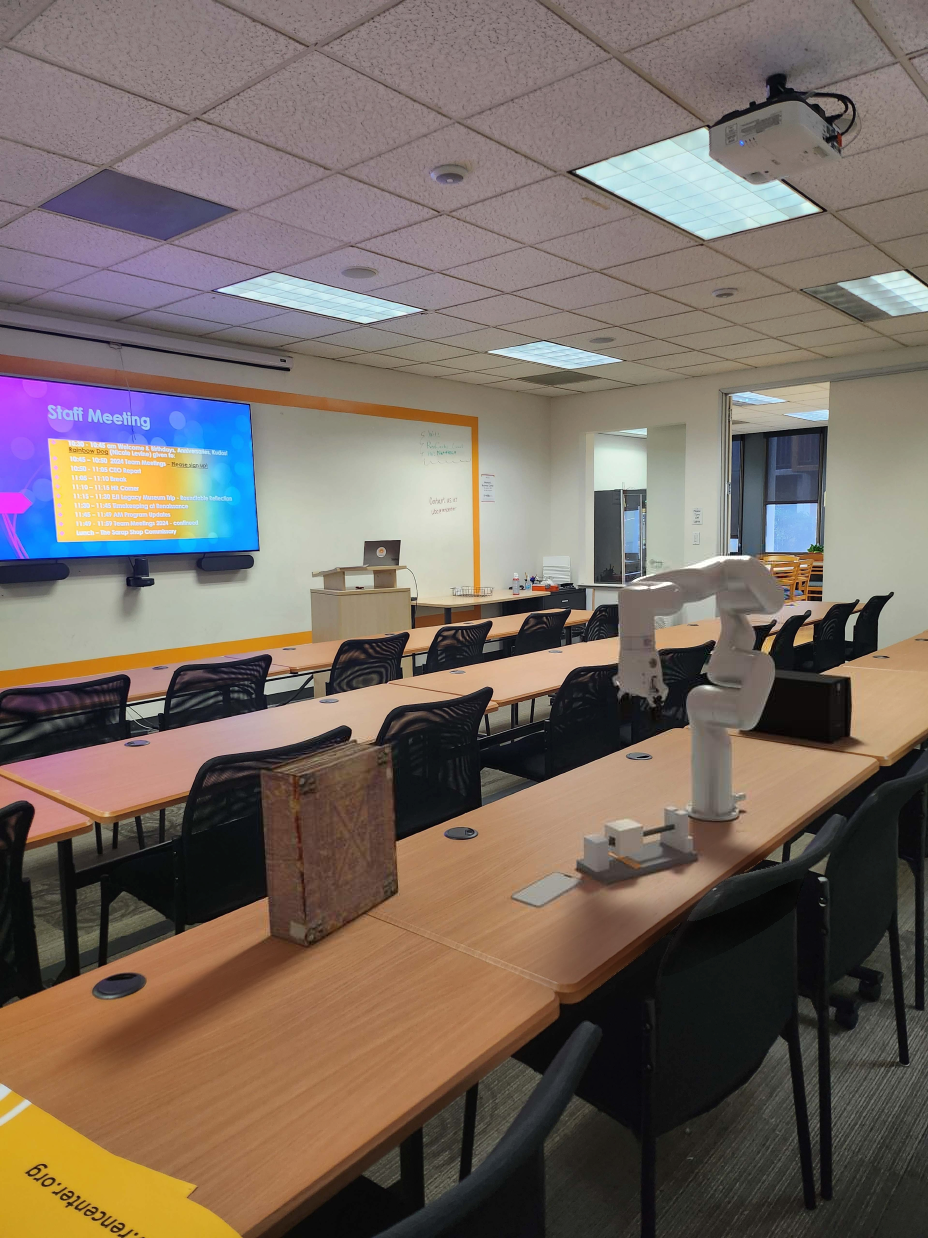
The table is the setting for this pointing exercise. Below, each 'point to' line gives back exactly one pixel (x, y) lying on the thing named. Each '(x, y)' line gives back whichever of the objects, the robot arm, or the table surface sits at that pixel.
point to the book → (328, 839)
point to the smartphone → (547, 889)
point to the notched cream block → (625, 837)
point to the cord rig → (654, 857)
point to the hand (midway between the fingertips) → (640, 719)
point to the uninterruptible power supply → (807, 707)
